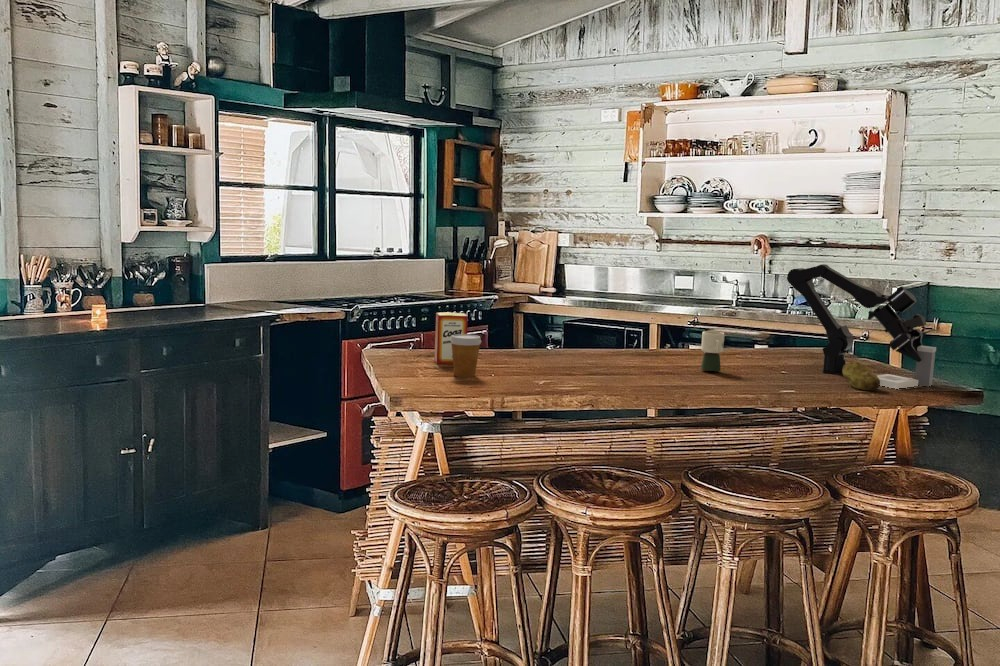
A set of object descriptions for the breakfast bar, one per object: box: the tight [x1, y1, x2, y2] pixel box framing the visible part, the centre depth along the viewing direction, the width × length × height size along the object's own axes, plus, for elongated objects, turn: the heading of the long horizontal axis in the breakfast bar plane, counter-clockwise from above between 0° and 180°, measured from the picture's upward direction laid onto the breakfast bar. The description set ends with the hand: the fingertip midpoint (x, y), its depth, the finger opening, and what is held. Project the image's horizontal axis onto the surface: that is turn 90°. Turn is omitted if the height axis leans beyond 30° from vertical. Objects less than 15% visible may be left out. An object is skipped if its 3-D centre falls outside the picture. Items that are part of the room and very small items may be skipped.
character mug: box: [700, 330, 725, 373], centre depth 322 cm, size 11×7×13 cm, turn 7°
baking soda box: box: [434, 311, 469, 365], centre depth 318 cm, size 10×6×16 cm
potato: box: [842, 360, 880, 392], centre depth 305 cm, size 8×13×8 cm, turn 7°
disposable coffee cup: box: [450, 333, 482, 378], centre depth 297 cm, size 10×10×12 cm
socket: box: [875, 373, 919, 390], centre depth 312 cm, size 11×11×3 cm
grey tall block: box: [914, 345, 937, 388], centre depth 313 cm, size 5×5×12 cm
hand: (923, 359), depth 313 cm, fingers open, 9 cm apart
